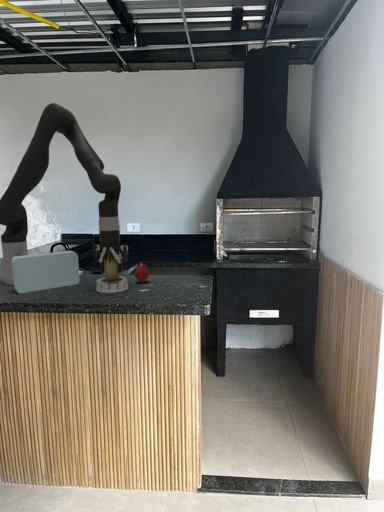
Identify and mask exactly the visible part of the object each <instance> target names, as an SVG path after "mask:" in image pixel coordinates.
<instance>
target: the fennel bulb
mask: <svg viewBox="0 0 384 512" xmlns="http://www.w3.org/2000/svg"><path fill="white" fill-rule="evenodd" d="M107 252H108V256H106V255H104V272H103V273H104V276H105V277H106V279H107V280H108V281H116V280H117V279H118V278H119V276H120V273H118V261H117V259H116V258H115V257H114V256H111V255H109V251H107Z"/></svg>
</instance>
